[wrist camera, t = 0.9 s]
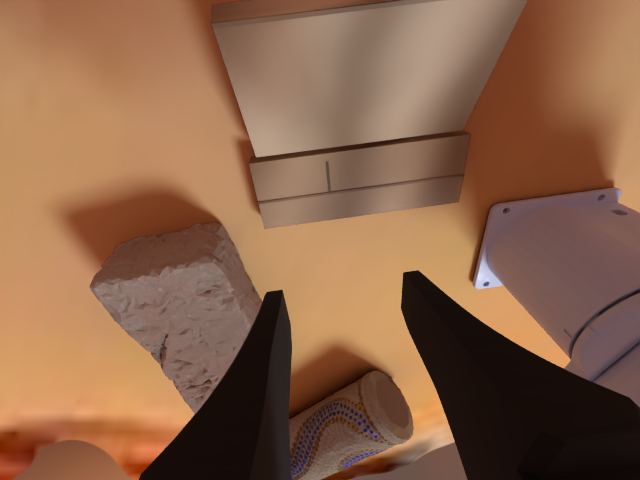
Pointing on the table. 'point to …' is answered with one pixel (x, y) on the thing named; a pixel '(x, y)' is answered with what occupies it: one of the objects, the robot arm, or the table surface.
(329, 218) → the laid board
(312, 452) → the decorative bottle
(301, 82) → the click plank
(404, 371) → the table surface
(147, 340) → the brick
